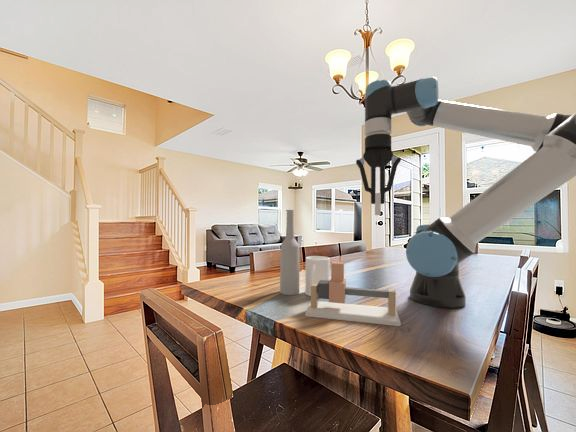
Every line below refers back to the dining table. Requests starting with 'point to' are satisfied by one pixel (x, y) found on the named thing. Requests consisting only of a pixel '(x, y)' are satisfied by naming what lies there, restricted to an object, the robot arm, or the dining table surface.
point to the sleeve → (337, 283)
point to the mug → (316, 271)
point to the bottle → (289, 260)
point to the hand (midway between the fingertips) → (377, 215)
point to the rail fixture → (353, 306)
